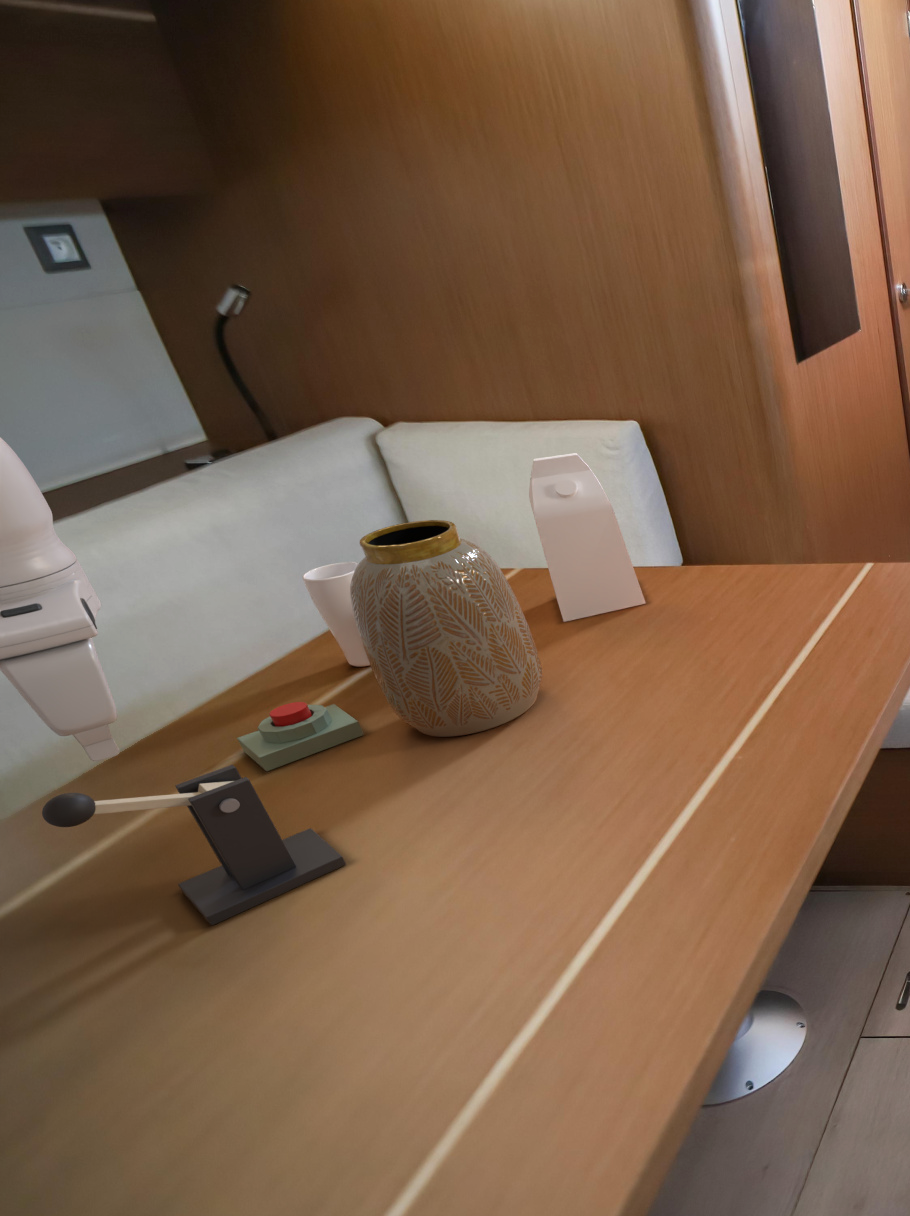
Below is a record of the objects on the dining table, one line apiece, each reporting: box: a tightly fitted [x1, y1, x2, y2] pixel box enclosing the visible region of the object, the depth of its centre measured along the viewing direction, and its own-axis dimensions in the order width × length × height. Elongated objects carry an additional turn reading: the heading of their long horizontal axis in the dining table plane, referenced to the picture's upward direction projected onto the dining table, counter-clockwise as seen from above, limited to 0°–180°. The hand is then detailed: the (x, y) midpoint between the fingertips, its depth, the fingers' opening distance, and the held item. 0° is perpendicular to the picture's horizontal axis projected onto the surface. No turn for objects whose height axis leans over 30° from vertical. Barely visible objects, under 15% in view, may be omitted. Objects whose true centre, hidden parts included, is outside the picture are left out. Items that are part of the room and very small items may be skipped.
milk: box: [528, 452, 647, 623], centre depth 160 cm, size 12×12×26 cm
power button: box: [269, 701, 312, 727], centre depth 124 cm, size 4×4×2 cm
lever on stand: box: [175, 764, 347, 926], centre depth 101 cm, size 11×9×13 cm
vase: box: [350, 519, 543, 738], centre depth 128 cm, size 17×17×27 cm
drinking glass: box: [302, 561, 371, 668], centre depth 143 cm, size 7×7×15 cm
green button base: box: [236, 703, 365, 772], centre depth 125 cm, size 10×8×4 cm
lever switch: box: [41, 781, 233, 828], centre depth 94 cm, size 13×3×3 cm, turn 148°
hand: (95, 737), depth 88 cm, fingers open, 8 cm apart
